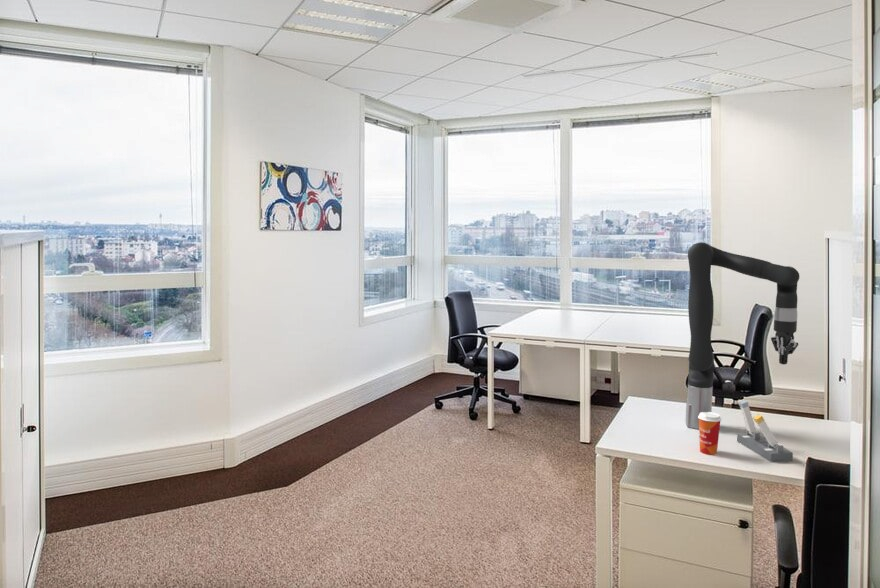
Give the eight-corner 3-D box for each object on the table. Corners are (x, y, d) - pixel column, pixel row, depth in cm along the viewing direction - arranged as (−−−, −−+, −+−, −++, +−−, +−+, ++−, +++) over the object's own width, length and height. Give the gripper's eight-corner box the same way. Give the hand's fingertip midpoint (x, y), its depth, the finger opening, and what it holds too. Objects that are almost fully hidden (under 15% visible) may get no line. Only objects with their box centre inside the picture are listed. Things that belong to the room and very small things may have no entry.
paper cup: (692, 448, 216) (694, 411, 214) (712, 447, 217) (714, 410, 215) (703, 456, 208) (705, 418, 207) (724, 455, 209) (726, 417, 207)
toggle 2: (776, 451, 205) (757, 420, 203) (770, 448, 208) (751, 417, 206) (782, 448, 205) (763, 416, 203) (775, 444, 208) (757, 413, 206)
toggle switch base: (770, 462, 203) (771, 447, 202) (736, 441, 223) (737, 428, 222) (792, 461, 203) (793, 446, 203) (756, 440, 223) (757, 427, 223)
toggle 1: (753, 438, 217) (742, 404, 216) (747, 434, 221) (737, 401, 219) (759, 435, 218) (748, 402, 216) (753, 432, 221) (743, 399, 219)
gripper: (807, 321, 215) (804, 367, 217) (783, 316, 229) (780, 359, 231) (787, 322, 215) (785, 368, 217) (765, 316, 228) (762, 360, 230)
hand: (783, 363), depth 224 cm, fingers closed
